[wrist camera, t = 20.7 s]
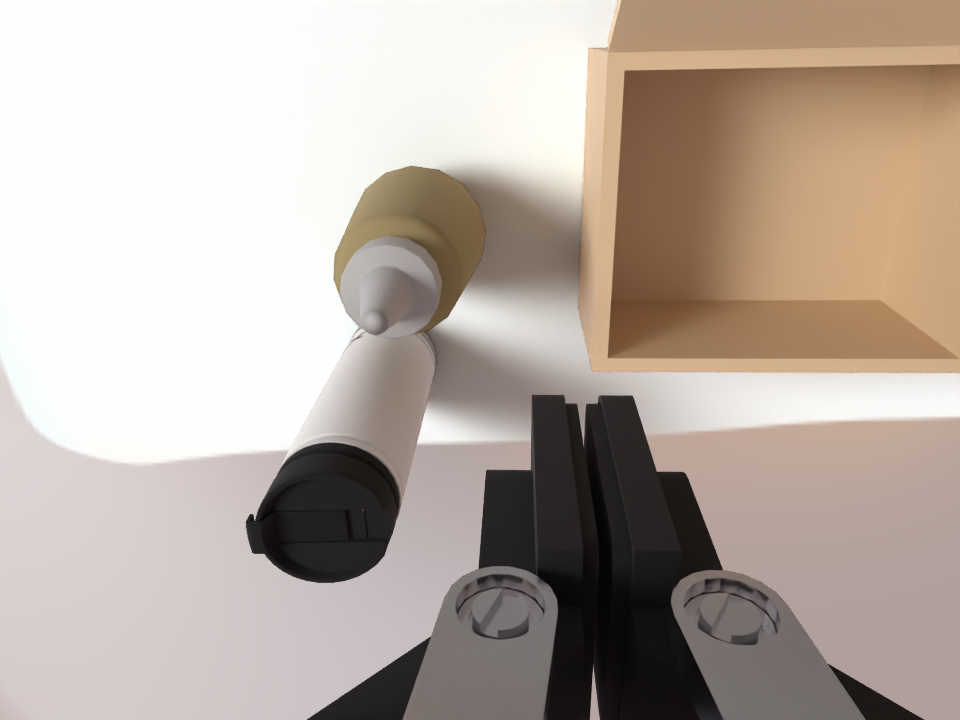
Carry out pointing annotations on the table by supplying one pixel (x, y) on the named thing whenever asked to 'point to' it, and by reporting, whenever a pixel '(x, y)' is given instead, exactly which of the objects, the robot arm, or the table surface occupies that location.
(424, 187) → the squeeze bottle
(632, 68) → the carton
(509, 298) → the table surface
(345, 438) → the travel mug
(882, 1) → the lid flap
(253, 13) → the table surface
